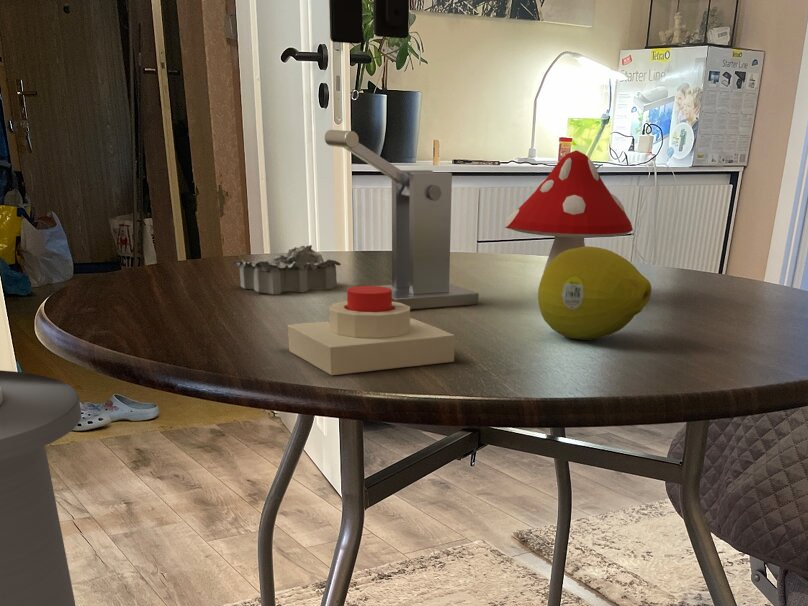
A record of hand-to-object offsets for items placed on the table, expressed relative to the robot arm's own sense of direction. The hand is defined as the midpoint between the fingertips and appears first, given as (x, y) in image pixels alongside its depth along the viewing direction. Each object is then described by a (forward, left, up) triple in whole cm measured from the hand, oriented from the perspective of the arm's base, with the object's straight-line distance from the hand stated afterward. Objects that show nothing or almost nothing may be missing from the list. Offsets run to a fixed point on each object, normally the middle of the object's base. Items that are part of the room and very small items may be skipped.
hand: (367, 40), depth 84 cm
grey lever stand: (+6, +1, -24) cm, 25 cm away
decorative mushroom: (+23, -2, -24) cm, 34 cm away
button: (-10, -20, -20) cm, 30 cm away
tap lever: (+2, +1, -12) cm, 12 cm away
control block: (-10, -20, -24) cm, 33 cm away
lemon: (+11, -22, -24) cm, 35 cm away
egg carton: (-4, +14, -24) cm, 28 cm away
